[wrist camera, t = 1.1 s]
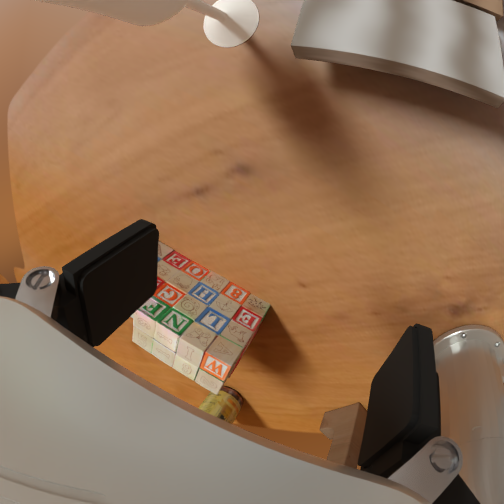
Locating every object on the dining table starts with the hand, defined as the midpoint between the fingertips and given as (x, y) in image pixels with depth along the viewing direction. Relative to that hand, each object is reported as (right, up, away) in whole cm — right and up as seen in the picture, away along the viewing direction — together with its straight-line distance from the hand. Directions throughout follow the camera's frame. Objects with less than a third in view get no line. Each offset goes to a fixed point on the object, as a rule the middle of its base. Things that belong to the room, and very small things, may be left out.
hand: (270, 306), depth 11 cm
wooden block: (+14, -23, +33) cm, 43 cm away
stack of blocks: (-8, -2, +33) cm, 35 cm away
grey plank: (+13, +21, +10) cm, 26 cm away
